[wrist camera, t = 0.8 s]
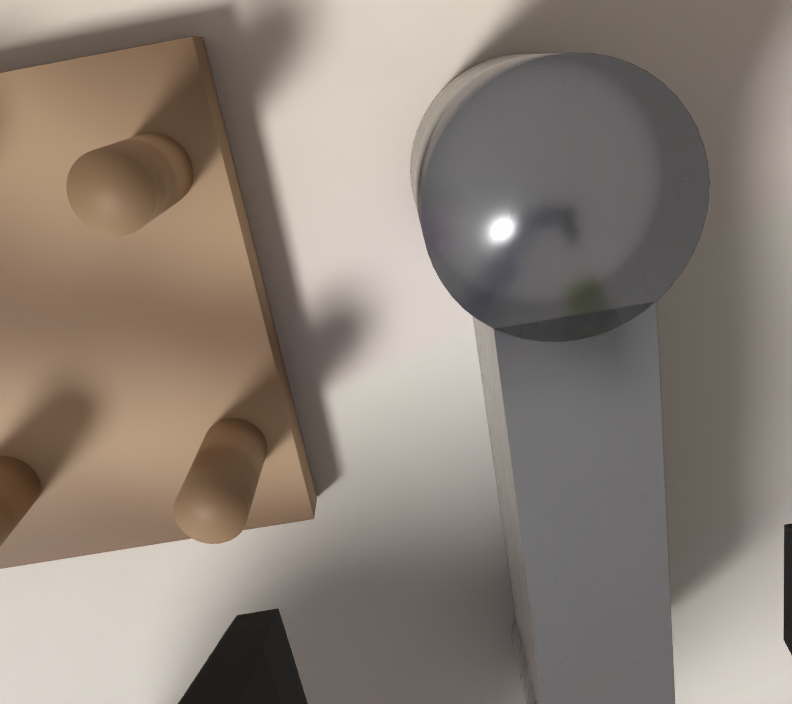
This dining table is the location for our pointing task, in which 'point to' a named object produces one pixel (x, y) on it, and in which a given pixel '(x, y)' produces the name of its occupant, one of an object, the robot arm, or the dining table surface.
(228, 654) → the robot arm
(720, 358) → the dining table surface
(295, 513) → the rack
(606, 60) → the grey ball-headed rattle
